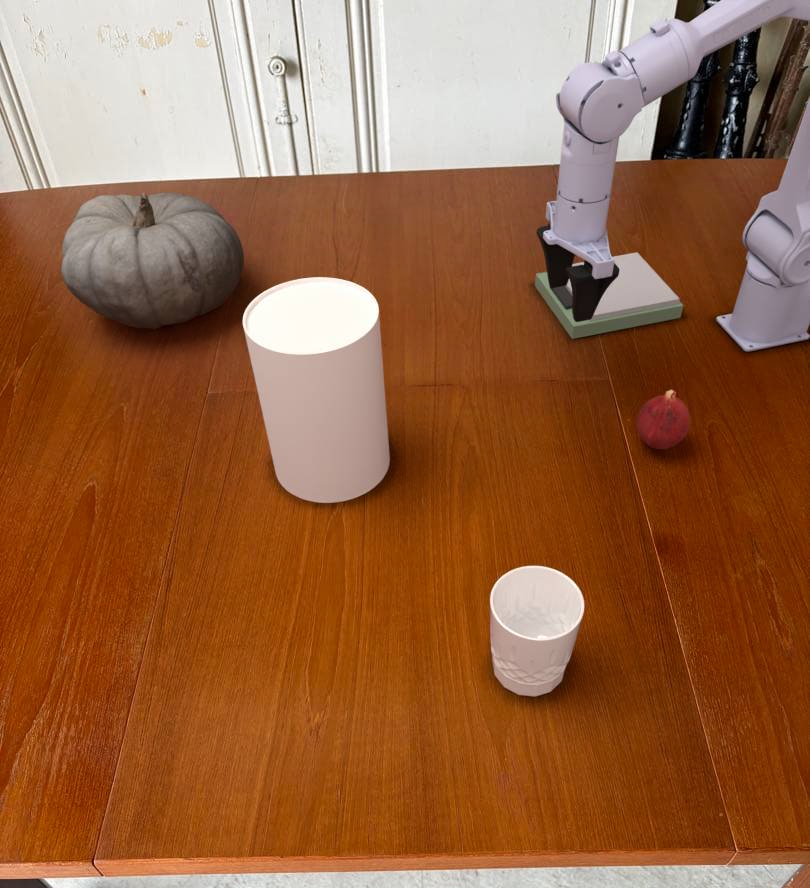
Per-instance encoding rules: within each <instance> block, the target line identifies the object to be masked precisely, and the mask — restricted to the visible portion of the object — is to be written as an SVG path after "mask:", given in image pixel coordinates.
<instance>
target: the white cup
mask: <svg viewBox="0 0 810 888" xmlns="http://www.w3.org/2000/svg"><path fill="white" fill-rule="evenodd" d="M584 614H585V599H584V595H583V593H582V591H581V589H580V587H579V586H578V584H576V583H575V581H574V580H573V579H571V578H570V577H569V576H568V575H567V574H565V573H563V572H561V571H559V570H557V569H554V568H552V567H548V566H543V565H526V566H520V567H518V568H517V567H516V568H514V569H511V570H509V571H507V572H506V573H505V574H503V575H501V577H500V578H498V579H497V581H496V582H495V584H494V585H493V587H492V588H491V592H490V597H489V633H490V651H491V664H492V668H493V674H494V676H495V678H496V679H497V680H498V682H499V683H500V684H501V685H502V687H503V688H505V689H507V690H508V691H510V692H512V693H514V694H516V695H518V696H526V697H538V696H542V695H545V694H548V693H551V692H552V691H553V690H554V689H555V688H557V686H558V685H560V684H561V683H562V681H563V677H564V674H565V671H566V667H567V665H568V664H569V662H570V660H571V656H572V653H573V651H574V647H575V645H576V642H577V638H578V634H579V631H580V627H581V623H582V620H583V616H584Z"/></svg>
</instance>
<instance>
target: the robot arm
mask: <svg viewBox="0 0 810 888" xmlns="http://www.w3.org/2000/svg"><path fill="white" fill-rule="evenodd" d="M779 18H788V19H794V20H800V21H806V22H807V21H808V22H810V0H719V1H717V2H716V3H715V4H713V5H711V6H710V7H709V8H708V9H706V10H705V11H703V12H702V13H700V14H699V15H698V16H696V17H695V18H693V19H692V20H690V21H689V22H686V21H684V20H680V19H678V18H670V19H668V20H667V21H665V20H664V19H663V18H660V19H658V20H656V21H655V22H653V23H652V24H650V25H649V30H650V31H648V32H647V33H646V34H644V35H642V36H641V37H638V38H637V39H636V40H634V41H632V42H631V43H629V44H628V45H626V46H624V47H623V48H621V49H620V50H617V51H616V50H611V51H610V52H609V53H607V54H605V57H604V60H603V61H601V62H598V61H594V62H592V61H587V62H584V63H582V64H580V65H577V67H575V68H574V69H573V70H572V71H571V72H570V73H569V74H568V76H567V77H566V79H565V80H564V81H563V84H562V86H561V89H560V91H559V92H556V94H555V104H556V107H557V110H558V112H559V114H560V115H561V117H562V118H563V132H562V141H561V150H560V159H559V168H558V179H557V188H556V189H557V190H556V200H553V201H548V202H546V207H545V208H546V209H545V219H546V220H547V221H548V222H549V223H547V225H543V226H539V227H538V228H537V229H536V236H537V238H538V240H539V243H540V245H541V249H542V252H543V256H544V259H545V267H546V268H545V269H546V272H547V276H548V282H549V286H550V287H551V288H556V287H561V286H567V283H568V281H569V279H570V282H571V287H572V313H573V319H574V320H575V322H581V321H586V320H591V319H592V317H593V315H594V313H595V310H596V308H597V306H598V304H599V302H600V300H601V298H602V296H603V294H604V293H605V291H606V290H607V288H608V287H609V286H610V284H611V283H612V282H613V281H614V280H615V279H616V278H617V277H618V275H619V268H618V266H617V265H616V264H615V263H614V261H615V260H614V259H613V258H612V257H613V256H612V254H611V249H610V242H609V236H608V230H607V221H608V215H609V209H610V203H611V202H610V201H611V194H612V189H613V188H612V187H613V181H614V176H615V169H616V162H617V155H618V147H619V141H620V137H621V136H622V135H623V134H624V133H626V131H627V130H628V129H629V127H630V126H631V124H632V122H633V121H634V119H635V117H636V116H637V115H638V114H639V113H641V112H642V110H643V108H645V107H647V106H649V105H650V104H652V103H653V102H655V101H657V100H658V99H660V98H661V97H664V95H666V94H668V93H670V92H671V91H673V90H675V89H676V88H678V87H679V86H681V85H683V84H684V83H687V82H688V81H690V80H692V79H693V78H694V77H695V76H696V74H697V72H698V70H699V67H700V65H701V62H702V60H703V58H704V57H707V56H709V55H710V54H712V53H714V52H716V51H718V50H719V49H722V48H723V47H725V46H727V45H729V44H731V43H733V42H735V41H737V40H739V39H741V38H743V37H745V36H747V35H749V34H750V33H753V32H754V31H756V30H758V29H761V27H764V26H765V25H767V24H769V23H771V22H773V21H775V20H778V19H779ZM798 127H799V128H798V131H797V133H796V136H795V139H794V142H793V145H792V148H791V150H790V153H789V157H788V160H787V162H786V165H785V168H784V171H783V173H782V177H781V180H780V182H779V185H778V188H777V189H775V190H774V191H772V192H769V193H767V194H765V195H763V196H762V197H761V198H760V200H759V203H758V206H757V208H756V210H755V212H754V213H753V215H752V216H751V217H750V219H749V220H748V221H747V223H746V225H745V227H744V229H743V232H742V238H741V239H742V240H741V241H742V243H743V246H744V248H745V250H747V254H746V257H745V260H746V261H747V264H746V268H745V271H744V274H743V277H742V280H741V284H740V287H739V291H738V294H737V297H736V301H735V304H734V307H733V310H732V313H728V314H724V315H718V316H716V318H715V321H716V322H717V323H718V324H719V326H721V328H722V329H723V330H724V331H725V332H726V333H727V334H728V335H729V336H730V337H731V338H732V339H733V340H734V341H735V343H736V344H737V345H738V346H739V347H740V348H741V349H742V350H743V351H744V352H753V351H754V352H755V351H759V350H763V349H768V348H773V347H778V346H782V345H786V344H787V345H789V344H793V343H797V342H801V341H807V340H809V339H810V334H809V333H808V329H809V327H810V97H809V98H808V101H807V104H806V107H805V109H804V113H803V116H802V119H801V121H800V125H799V126H798ZM576 256H577V257H579V258H580V259H582V260H584V261H583V262H584V265H577V266H572V265H573V264H574V259H575V257H576Z"/></svg>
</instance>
